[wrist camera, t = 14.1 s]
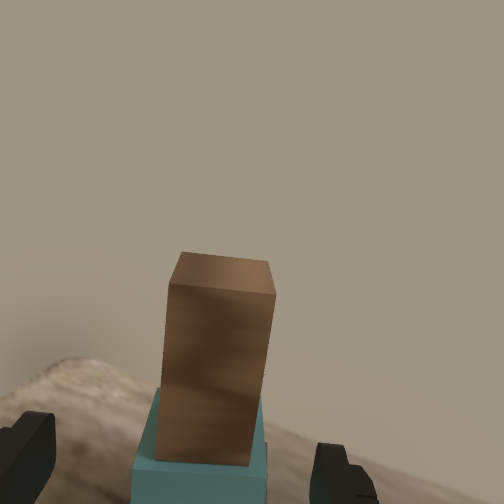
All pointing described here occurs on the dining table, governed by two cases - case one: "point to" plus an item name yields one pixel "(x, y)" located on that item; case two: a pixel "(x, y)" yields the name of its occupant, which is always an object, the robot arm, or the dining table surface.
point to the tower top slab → (196, 473)
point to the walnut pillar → (213, 358)
